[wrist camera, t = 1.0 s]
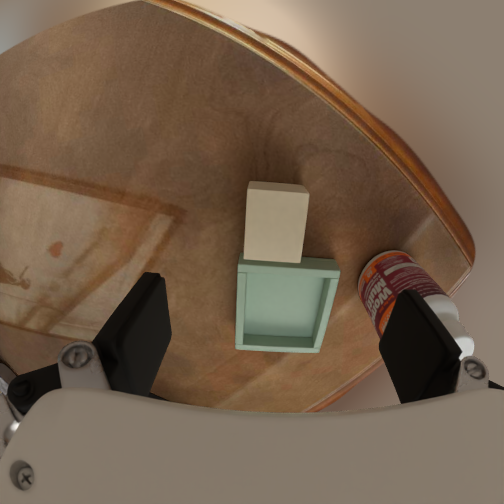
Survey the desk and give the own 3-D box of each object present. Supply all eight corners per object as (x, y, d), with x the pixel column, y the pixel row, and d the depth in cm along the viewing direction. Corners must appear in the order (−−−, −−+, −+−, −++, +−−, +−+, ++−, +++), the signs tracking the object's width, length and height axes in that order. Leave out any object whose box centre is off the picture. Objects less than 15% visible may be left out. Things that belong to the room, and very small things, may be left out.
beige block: (249, 180, 20) (247, 188, 17) (303, 184, 20) (309, 193, 17) (246, 242, 22) (243, 259, 19) (296, 246, 22) (300, 263, 19)
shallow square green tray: (240, 252, 22) (237, 263, 20) (335, 258, 22) (341, 270, 20) (236, 334, 26) (234, 349, 24) (315, 338, 26) (319, 353, 24)
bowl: (13, 387, 42) (6, 399, 37) (-13, 351, 36) (-22, 363, 32) (39, 399, 40) (31, 412, 36) (9, 360, 35) (-2, 374, 31)
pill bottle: (354, 256, 22) (409, 350, 11) (415, 241, 21) (491, 316, 11) (357, 312, 24) (395, 408, 14) (412, 297, 23) (466, 379, 13)
